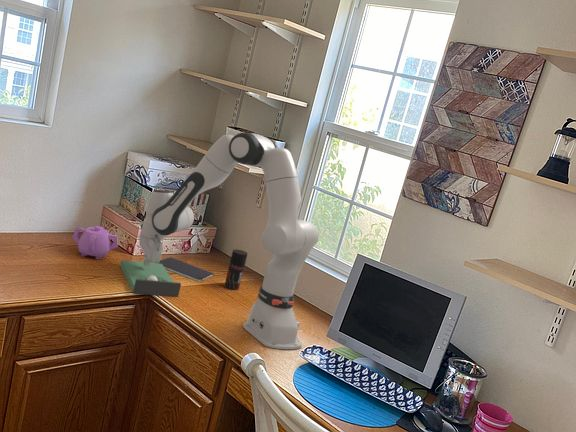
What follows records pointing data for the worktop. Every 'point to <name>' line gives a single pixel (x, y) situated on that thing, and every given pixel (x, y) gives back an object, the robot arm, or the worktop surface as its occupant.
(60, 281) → the worktop surface
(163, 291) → the green
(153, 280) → the ball
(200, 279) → the notebook
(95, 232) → the pot
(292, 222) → the robot arm
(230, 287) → the deodorant
